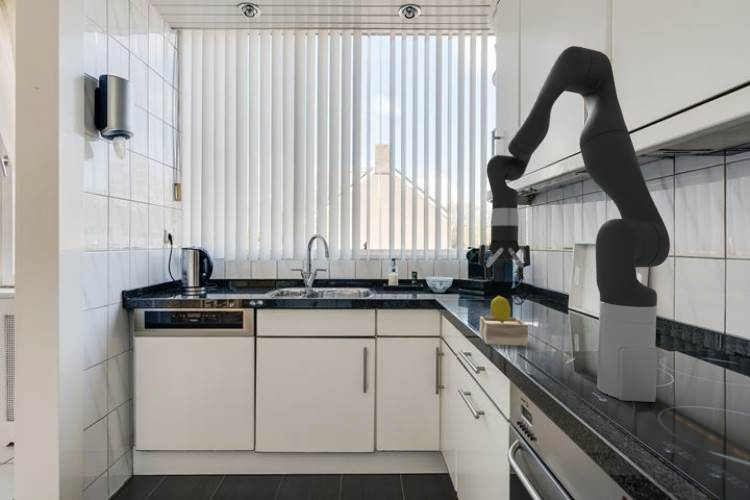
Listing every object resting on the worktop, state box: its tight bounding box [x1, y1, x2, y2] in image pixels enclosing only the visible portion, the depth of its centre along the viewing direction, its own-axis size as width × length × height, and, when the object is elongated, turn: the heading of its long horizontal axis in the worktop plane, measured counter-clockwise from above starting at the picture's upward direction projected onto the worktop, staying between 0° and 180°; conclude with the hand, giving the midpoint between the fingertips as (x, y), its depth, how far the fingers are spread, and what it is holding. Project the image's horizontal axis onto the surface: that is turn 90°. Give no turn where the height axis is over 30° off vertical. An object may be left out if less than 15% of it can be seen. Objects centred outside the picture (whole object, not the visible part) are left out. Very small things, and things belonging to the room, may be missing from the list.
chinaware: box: [425, 276, 454, 293], centre depth 225 cm, size 15×15×8 cm
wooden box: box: [478, 316, 529, 347], centre depth 117 cm, size 11×11×6 cm
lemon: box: [490, 295, 512, 323], centre depth 118 cm, size 6×6×8 cm
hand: (503, 280), depth 117 cm, fingers open, 8 cm apart
